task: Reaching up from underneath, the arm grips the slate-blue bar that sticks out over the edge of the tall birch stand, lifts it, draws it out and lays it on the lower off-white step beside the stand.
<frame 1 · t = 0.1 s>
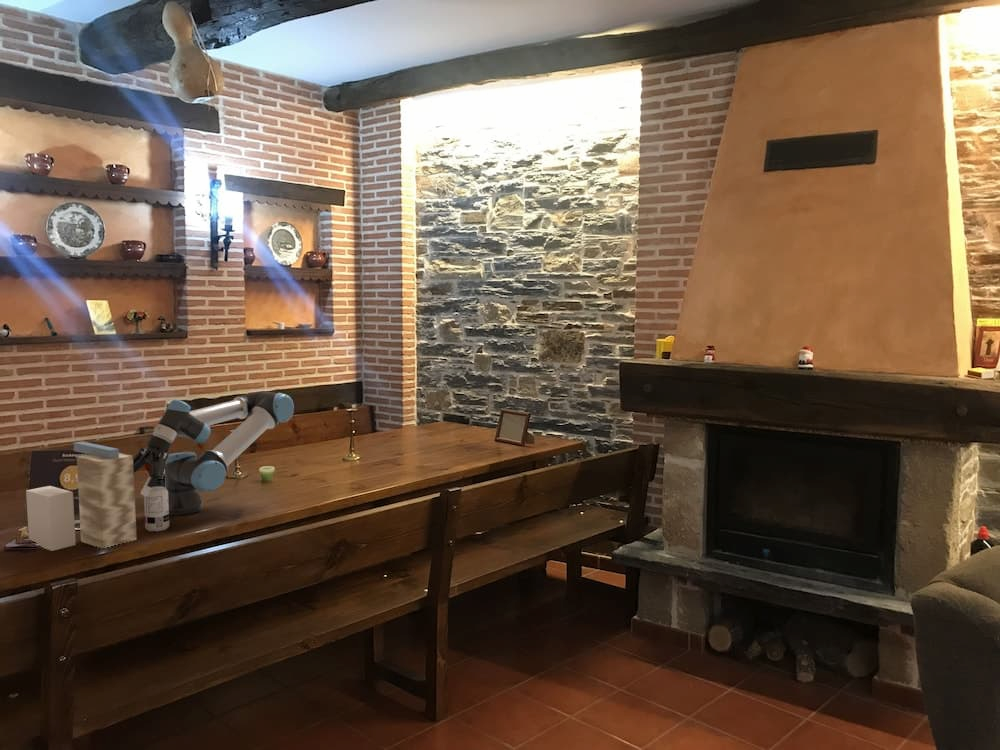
hand: (132, 492, 288), 15 cm above the table, tool tilted 35°, fingers open, 13 cm apart
white step: (52, 543, 278), on the table
birch stand: (108, 540, 282), on the table
slate bar: (96, 454, 282), point 30 cm above the table, touching birch stand
supplement can: (157, 529, 296), on the table
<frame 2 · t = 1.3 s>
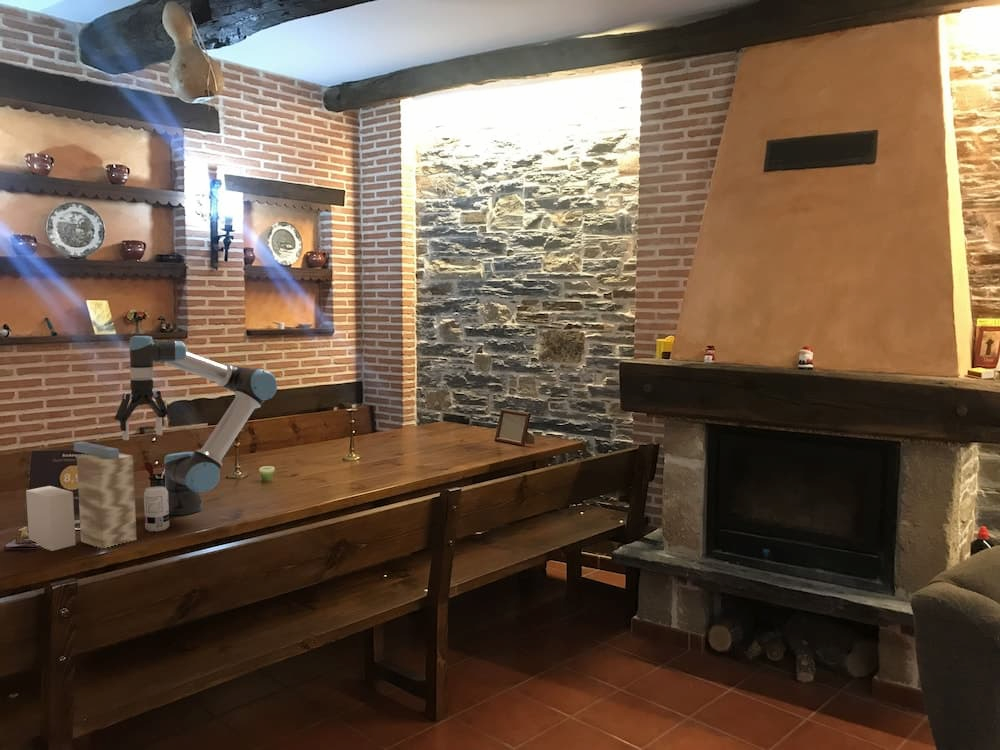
hand: (142, 437, 293), 34 cm above the table, tool pointing down, fingers open, 13 cm apart
nothing on the table moved.
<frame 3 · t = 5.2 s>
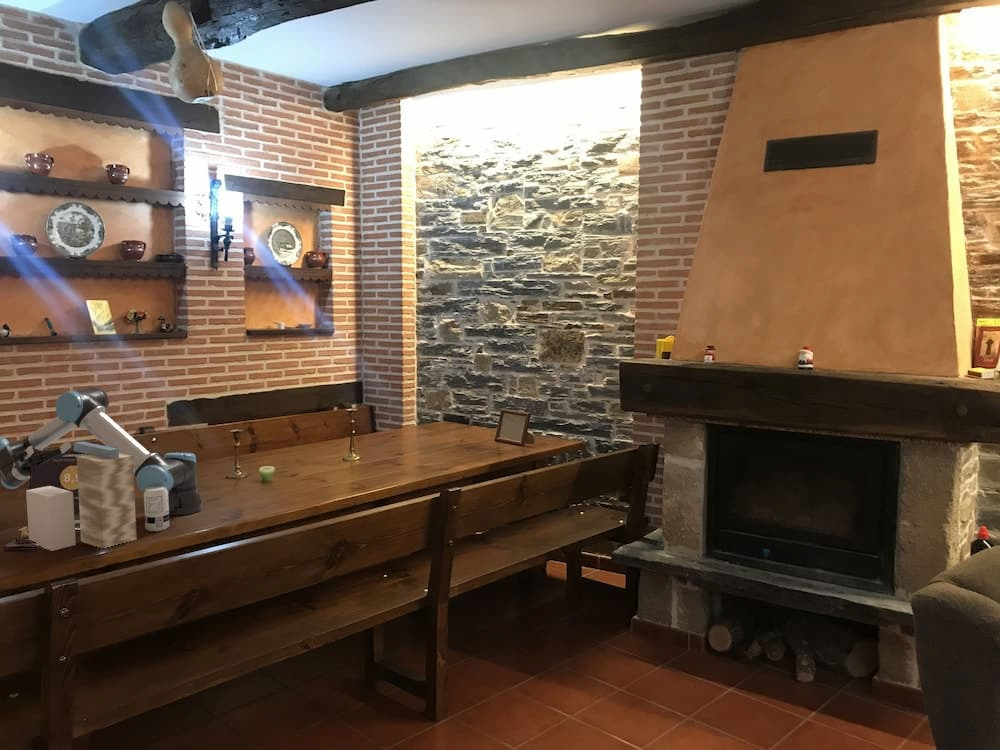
hand: (50, 446, 299), 29 cm above the table, tool pointing upward, fingers open, 13 cm apart
nothing on the table moved.
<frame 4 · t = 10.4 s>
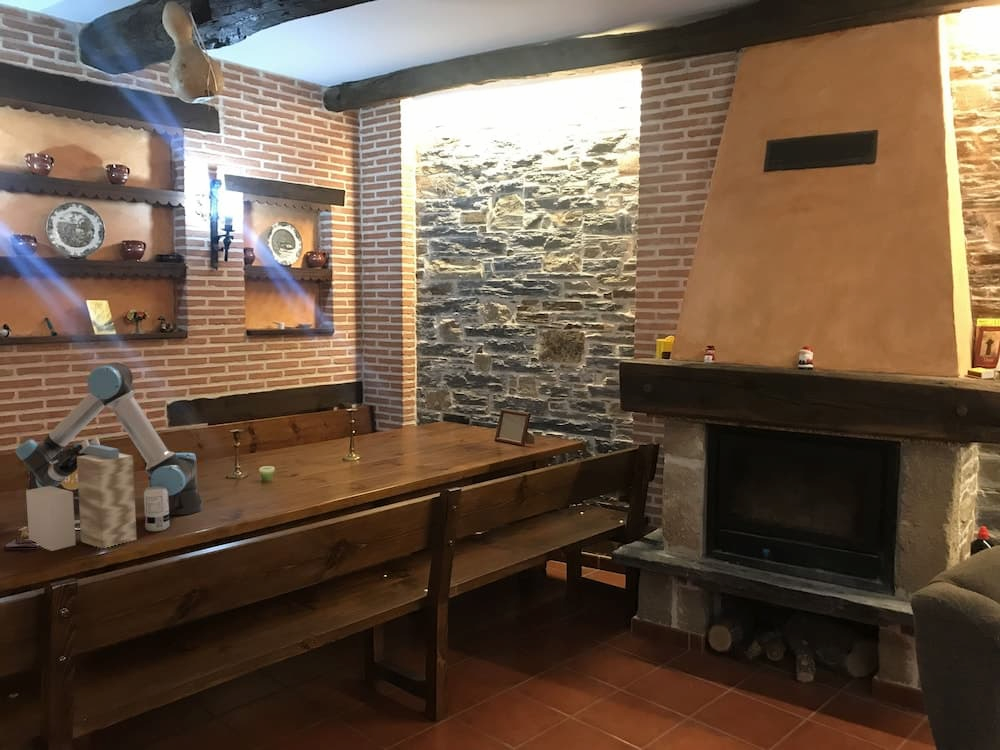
hand: (92, 441, 282), 34 cm above the table, tool pointing upward, fingers closed on slate bar, 3 cm apart
slate bar: (96, 454, 282), point 30 cm above the table, touching birch stand, gripper
supplement can: (157, 529, 296), on the table, touching arm
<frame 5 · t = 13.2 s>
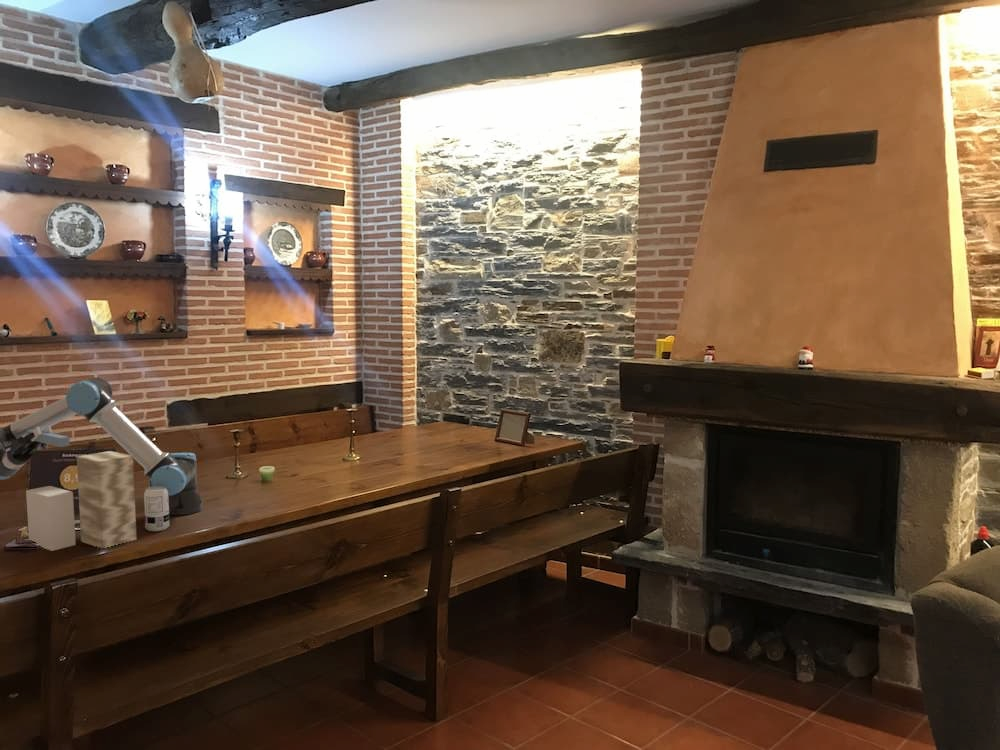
hand: (44, 429, 279), 39 cm above the table, tool pointing upward, fingers closed on slate bar, 3 cm apart
slate bar: (47, 442, 278), point 35 cm above the table, touching gripper
supplement can: (157, 529, 296), on the table
when the fingers open (25 cm above the table, at t = 16.1 s): slate bar drops 3 cm, resting on white step.
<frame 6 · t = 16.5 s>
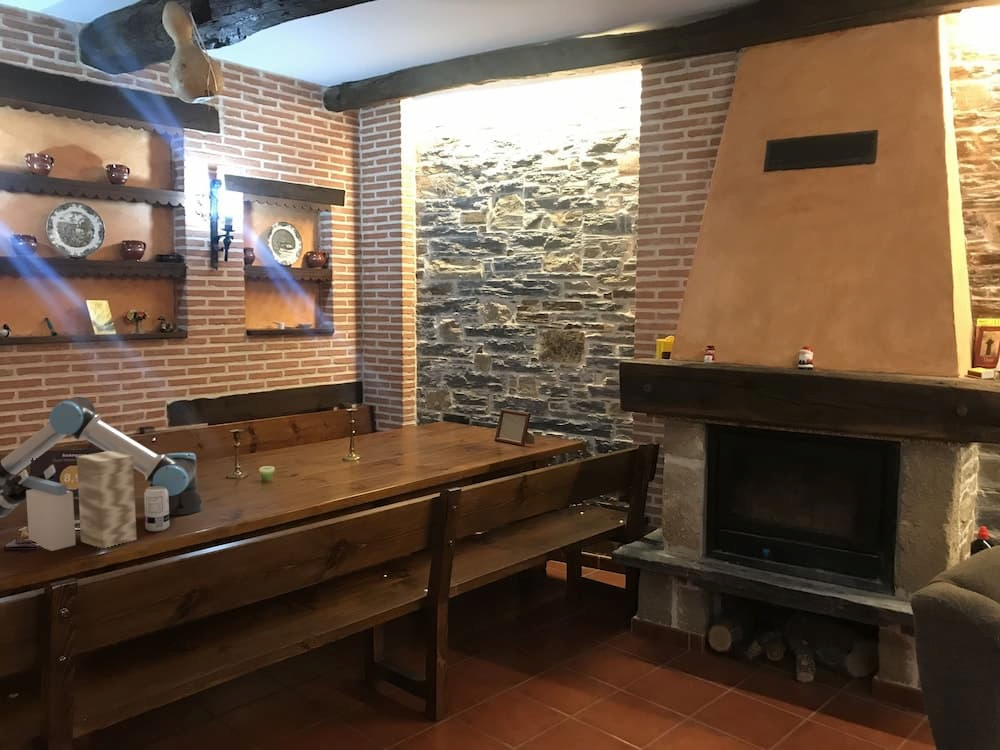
hand: (40, 470, 279), 25 cm above the table, tool pointing upward, fingers open, 8 cm apart
slate bar: (44, 489, 278), point 18 cm above the table, touching white step
supplement can: (157, 528, 296), on the table, touching arm
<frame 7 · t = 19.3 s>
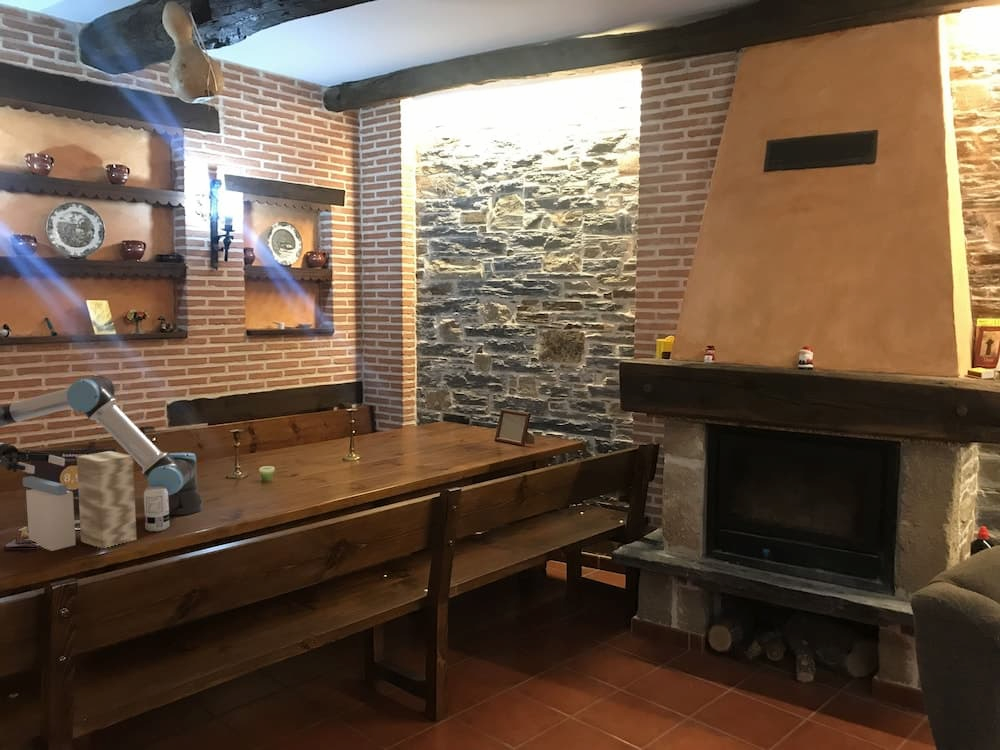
hand: (49, 466, 291), 24 cm above the table, tool horizontal, fingers open, 13 cm apart
supplement can: (157, 529, 296), on the table
everything else where it was.
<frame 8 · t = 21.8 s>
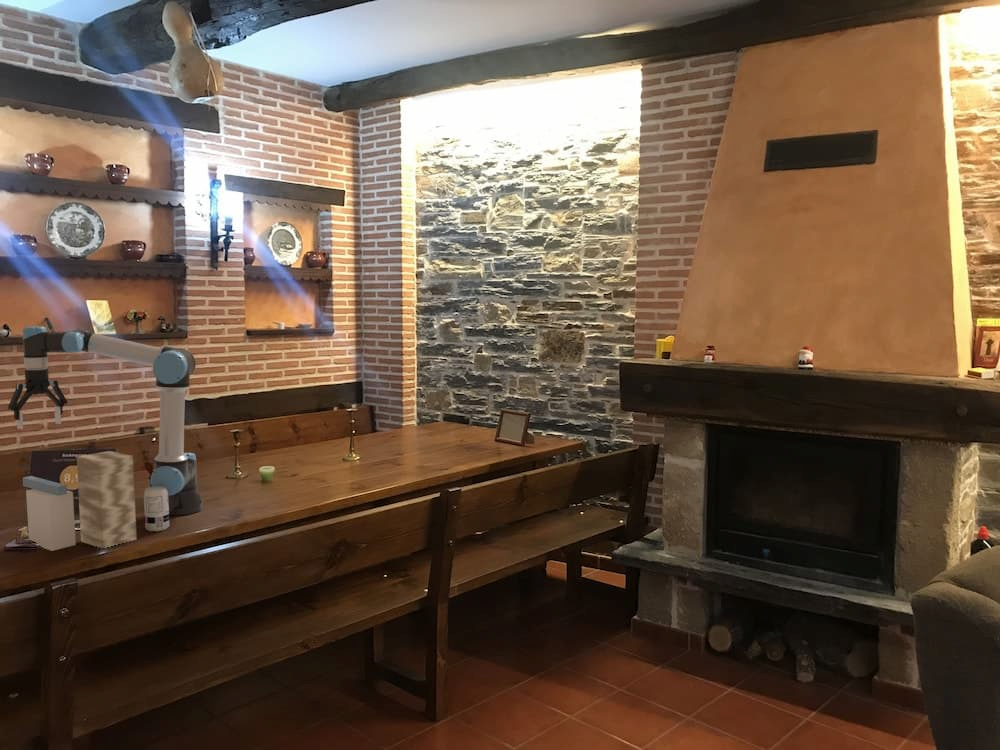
hand: (39, 426, 298), 37 cm above the table, tool pointing down, fingers open, 13 cm apart
nothing on the table moved.
at the end: slate bar inside the target area on the white step (2.1 cm from its centre), point 18.5 cm above the white step's base; slate bar touching white step; the gripper is holding nothing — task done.
